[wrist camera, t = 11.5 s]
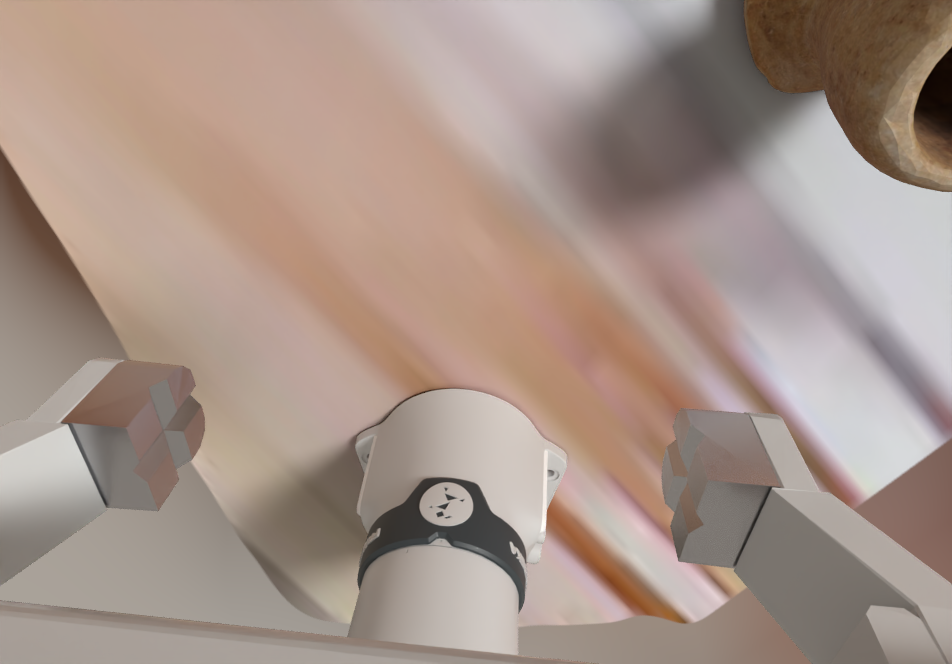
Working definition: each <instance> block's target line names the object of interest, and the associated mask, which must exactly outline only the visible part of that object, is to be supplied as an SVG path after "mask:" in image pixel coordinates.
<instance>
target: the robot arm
mask: <svg viewBox="0 0 952 664" xmlns="http://www.w3.org/2000/svg"><path fill="white" fill-rule="evenodd" d="M195 386H196V385H195V382H194V379H193V376H192V373H191V370H190V369H188V368H186V367H184V366H179V365H170V364H161V363H151V362H142V361H133V360H119V359H109V358H100V357H99V358H96V359H92V360H89V361H88V362H87V363H86V364H85V365H83V366H82V367H81V368H80V369H79V371H77V372H76V373H75V374H74V375H73V376H72V377H71V378H70V379H69V380H68V381H67V382H66V383H65V384H63V385H62V386H61V387H60V388H59V389H58V390H57V391H56V392H55V393H54V394H53V395H52V396H51V397H50V398H49V399H48V400H47V401H46V402H44V403H43V404H42V405H41V406H40V407H39V408H38V409H37V410H36V411H35V412H34V413H33V414H32V415H31V416H30V417H29V418H28V419H27V420H14V421H12V422H9V423H7V424H5V425H2V426H0V586H1V585H2V584H4V583H5V582H7V581H8V580H9V579H11V578H12V577H14V576H15V575H16V574H18V573H19V572H21V571H22V570H24V569H25V568H26V567H28V566H29V565H31V564H32V563H33V562H35V561H36V560H38V559H39V558H40V557H42V556H43V555H44V554H46V553H48V552H49V551H50V550H52V549H53V548H55V547H56V546H57V545H59V544H60V543H62V542H63V541H64V540H66V539H67V538H68V537H70V536H72V535H73V534H74V533H76V532H77V531H78V530H80V529H81V528H83V527H84V526H86V525H87V524H88V523H90V522H91V521H93V520H94V519H96V518H97V517H98V516H100V515H101V514H102V513H104V512H105V511H107V508H120V509H134V510H151V511H159V509H160V508H161V506H162V505H163V503H164V502H165V500H166V499H167V497H168V496H169V494H170V493H171V491H172V490H173V488H174V487H175V485H176V484H177V482H178V481H179V477H178V472H177V468H179V467H181V466H182V465H184V464H185V463H187V462H189V461H191V460H192V459H193V458H194V456H195V454H196V453H197V451H198V449H199V448H200V446H201V442H202V439H203V435H204V431H205V417H204V413H203V409H202V406H201V405H200V404H199V403H198V402H197V401H196V400H195V399H194V398H193V397H192V396H191V395H190V394H191V392H192V391H193V389H194V388H195ZM673 429H674V433H675V437H676V440H675V441H674V442H672V443H671V444H670V445H668V446H667V447H666V451H665V455H664V459H663V466H662V489H663V495H664V499H665V503H666V504H667V505H668V506H669V507H670V508H671V509H672V510H673V511H674V512H675V513H674V516H673V519H672V522H671V525H670V527H671V531H672V535H673V540H674V544H675V548H676V553H677V557H678V561H679V562H687V563H695V564H703V565H711V566H719V567H727V568H735V569H734V572H735V573H736V574H737V575H738V577H739V578H740V579H741V580H742V581H743V583H744V584H745V585H746V586H747V587H748V588H749V590H750V591H751V592H752V593H753V594H754V596H755V597H756V598H757V599H758V600H759V601H760V603H761V604H762V605H763V606H764V607H765V609H766V610H767V611H768V612H769V613H770V615H771V616H772V617H773V618H774V619H775V621H776V622H777V623H778V624H779V625H780V626H781V628H782V629H783V630H784V631H785V632H786V634H787V635H788V636H789V637H790V638H791V640H792V641H793V642H794V643H795V644H796V646H797V647H798V648H799V649H800V650H801V651H802V653H803V654H804V655H805V656H806V657H807V659H808V660H809V661H810V662H811V663H812V664H952V584H951V583H949V582H948V581H947V580H945V579H944V578H943V577H941V576H940V575H939V574H937V573H936V572H935V571H933V570H932V569H931V568H929V567H928V566H927V565H925V564H924V563H923V562H921V561H920V560H919V559H917V558H916V557H915V556H913V555H912V554H911V553H909V552H908V551H907V550H905V549H904V548H903V547H901V546H900V545H899V544H897V543H896V542H894V541H893V540H892V539H891V538H889V537H888V536H887V535H885V534H884V533H883V532H881V531H880V530H879V529H877V528H876V527H875V526H873V525H872V524H871V523H869V522H868V521H867V520H865V519H864V518H863V517H861V516H860V515H859V514H857V513H856V512H855V511H853V510H852V509H851V508H849V507H848V506H847V505H845V504H844V503H843V502H841V501H840V500H839V499H837V498H836V497H835V496H833V495H832V494H831V493H826V492H820V491H819V489H818V487H817V485H816V483H815V481H814V479H813V477H812V475H811V474H810V472H809V470H808V468H807V466H806V464H805V462H804V460H803V458H802V456H801V454H800V452H799V450H798V448H797V446H796V444H795V442H794V440H793V439H792V437H791V435H790V433H789V431H788V429H787V427H786V425H785V423H784V421H783V419H782V418H781V417H779V416H778V415H777V414H763V413H747V412H745V413H737V412H724V411H711V410H698V409H686V408H681V409H680V410H679V412H678V413H677V415H676V418H675V421H674V424H673ZM355 450H356V453H357V455H358V458H359V461H360V463H361V466H362V469H363V472H364V474H365V475H364V479H363V483H362V487H361V491H360V495H359V499H358V504H357V514H358V515H360V516H361V520H362V524H363V526H364V528H365V530H366V531H367V533H368V536H367V540H366V542H365V544H364V547H363V549H362V553H361V557H360V562H359V563H360V564H359V567H360V568H359V572H358V579H357V580H358V586H359V590H360V591H359V595H358V599H357V602H356V606H355V610H354V613H353V617H352V621H351V625H350V629H349V633H348V636H347V637H340V636H332V635H331V636H330V635H322V634H313V633H304V632H294V631H284V630H275V629H266V628H256V627H247V626H238V625H229V624H219V623H210V622H200V621H191V620H181V619H171V618H162V617H153V616H144V615H134V614H124V613H115V612H105V611H96V610H87V609H77V608H68V607H57V606H49V605H39V604H29V603H20V602H11V601H1V600H0V664H599V663H588V662H578V661H569V660H560V659H551V658H541V657H531V656H522V655H518V614H519V612H520V610H521V609H522V607H523V603H524V600H525V591H526V585H527V574H528V573H527V566H526V563H531V564H537V563H538V562H539V559H540V555H541V548H542V544H543V543H544V540H545V534H546V529H545V527H546V510H547V508H548V506H549V504H550V502H551V500H552V498H553V496H554V494H555V491H556V489H557V487H558V485H559V483H560V481H561V479H562V477H563V475H564V472H565V470H566V468H567V455H566V453H565V452H564V451H563V450H562V449H560V448H559V447H557V446H556V445H554V444H553V443H551V442H549V441H547V440H546V439H544V438H543V437H542V436H541V435H540V434H539V432H538V431H537V430H536V428H535V427H534V425H533V424H532V423H531V421H530V420H529V419H528V418H527V417H526V416H525V415H524V414H523V413H522V412H521V411H519V410H518V409H517V408H515V407H514V406H512V405H511V404H509V403H507V402H506V401H504V400H502V399H500V398H497V397H495V396H492V395H489V394H486V393H482V392H478V391H473V390H466V389H441V390H435V391H430V392H426V393H423V394H420V395H417V396H415V397H412V398H410V399H409V400H407V401H405V402H404V403H402V404H401V405H399V406H398V407H397V408H396V409H395V410H394V411H393V412H392V413H391V414H390V415H389V416H388V418H387V419H386V420H385V421H384V422H382V423H381V424H380V425H377V426H375V427H372V428H370V429H367V430H365V431H363V432H362V433H360V434H359V435H358V436H357V439H356V444H355Z"/></svg>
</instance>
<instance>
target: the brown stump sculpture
mask: <svg viewBox="0 0 952 664" xmlns="http://www.w3.org/2000/svg"><path fill="white" fill-rule="evenodd" d="M744 20H745V27H746V33H747V39H748V43H749V47H750V51H751V55H752V58H753V60H754V63H755V65H756V67H757V68H758V70H759V71H760V72H761V73H762V74H763V75H764V76H765V77H766V78H767V79H768V82H769V83H770V85H771V86H772V87H773V88H775V89H777V90H779V91H782V92H787V93H802V92H811V91H818V90H824V91H825V95H826V98H827V102H828V104H829V106H830V109H831V110H832V112H833V114H834V116H835V118H836V119H837V121H838V123H839V124H840V126H841V128H842V129H843V131H844V133H845V135H846V136H847V138H848V140H849V141H850V143H851V144H852V146H853V147H854V148H855V150H856V151H857V152H858V153H859V154H860V155H861V156H862V157H863V158H864V159H865V160H866V161H867V162H868V163H870V164H871V165H872V166H874V167H875V168H876V169H878V170H879V171H881V172H882V173H884V174H886V175H888V176H890V177H892V178H894V179H896V180H899V181H901V182H903V183H907V184H911V185H914V186H918V187H921V188H926V189H931V190H937V191H942V192H952V0H744Z"/></svg>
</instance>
